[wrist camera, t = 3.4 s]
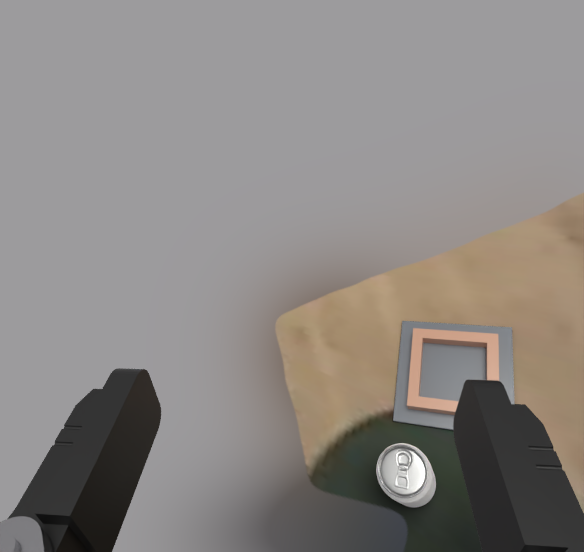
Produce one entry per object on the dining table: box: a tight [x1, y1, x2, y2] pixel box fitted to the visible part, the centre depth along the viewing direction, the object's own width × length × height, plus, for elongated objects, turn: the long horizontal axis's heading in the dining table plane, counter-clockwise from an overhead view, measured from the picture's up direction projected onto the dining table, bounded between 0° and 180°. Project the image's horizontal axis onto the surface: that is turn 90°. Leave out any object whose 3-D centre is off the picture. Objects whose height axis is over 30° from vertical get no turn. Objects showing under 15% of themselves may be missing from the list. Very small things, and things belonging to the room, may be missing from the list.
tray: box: [393, 321, 514, 430], centre depth 62 cm, size 16×16×3 cm
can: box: [376, 443, 436, 507], centre depth 53 cm, size 6×6×12 cm
